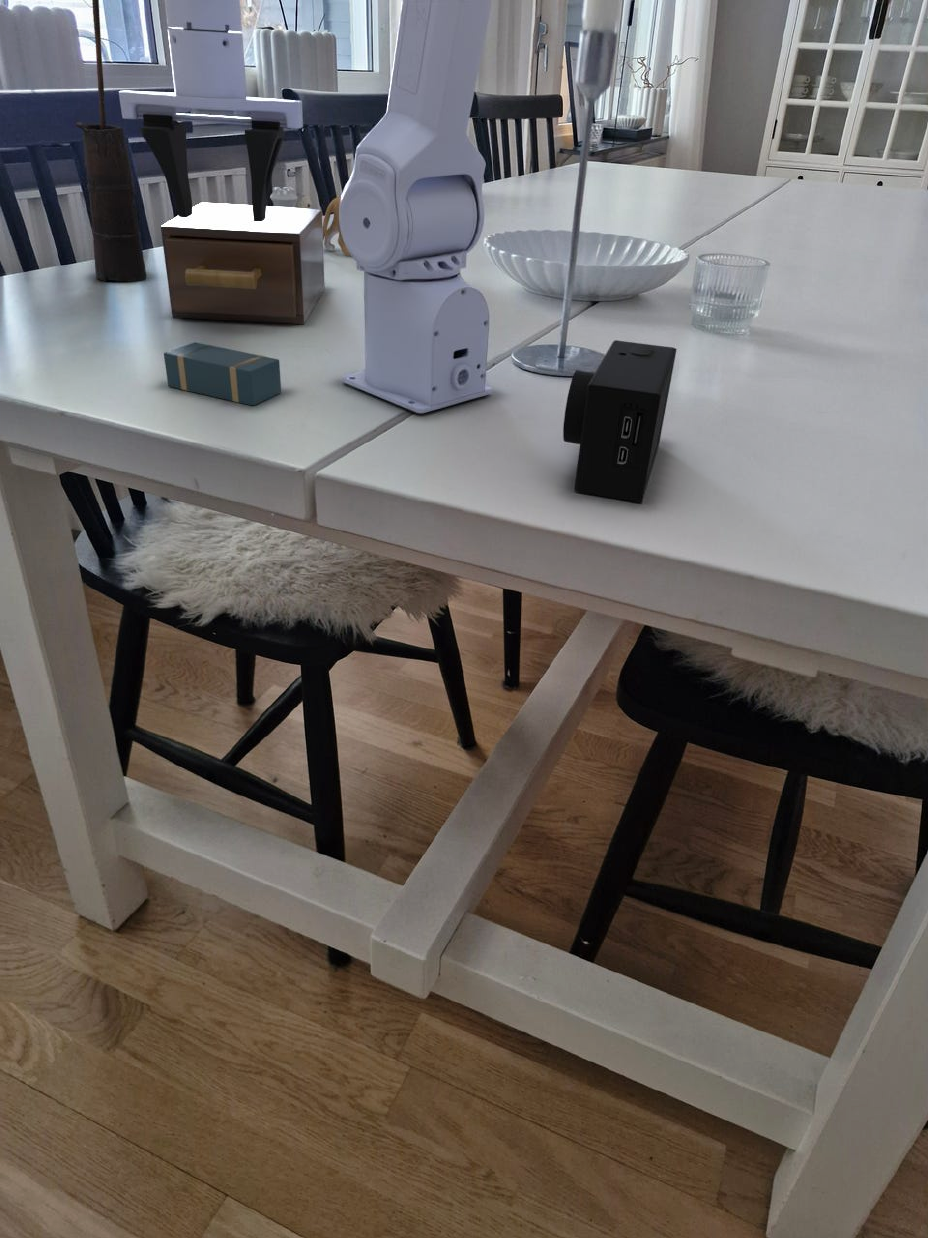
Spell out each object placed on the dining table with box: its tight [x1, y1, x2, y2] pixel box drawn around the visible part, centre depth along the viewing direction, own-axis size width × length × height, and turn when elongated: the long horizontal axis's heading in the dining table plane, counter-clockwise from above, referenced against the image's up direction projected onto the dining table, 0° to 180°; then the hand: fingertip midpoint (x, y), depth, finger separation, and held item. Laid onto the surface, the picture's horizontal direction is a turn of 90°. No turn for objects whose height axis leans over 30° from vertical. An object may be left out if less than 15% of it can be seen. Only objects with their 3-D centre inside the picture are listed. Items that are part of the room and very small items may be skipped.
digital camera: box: [562, 339, 677, 504], centre depth 56 cm, size 10×5×7 cm, turn 163°
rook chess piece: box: [269, 186, 298, 208], centre depth 105 cm, size 4×4×8 cm
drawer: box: [165, 237, 297, 317], centre depth 84 cm, size 18×11×6 cm, turn 0°
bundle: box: [163, 341, 282, 407], centre depth 66 cm, size 8×4×3 cm, turn 65°
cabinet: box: [160, 202, 326, 325], centre depth 87 cm, size 15×13×8 cm
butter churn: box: [75, 0, 147, 282], centre depth 87 cm, size 9×10×28 cm
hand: (222, 218), depth 76 cm, fingers open, 6 cm apart
